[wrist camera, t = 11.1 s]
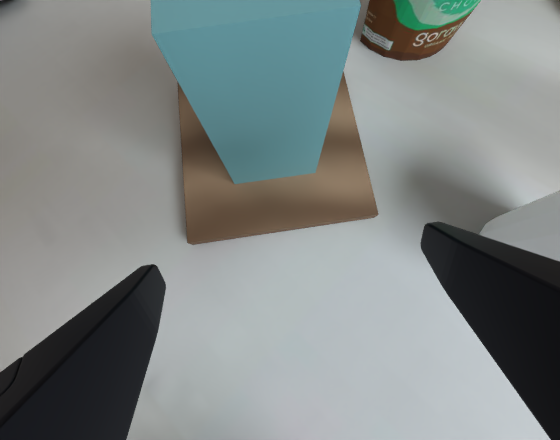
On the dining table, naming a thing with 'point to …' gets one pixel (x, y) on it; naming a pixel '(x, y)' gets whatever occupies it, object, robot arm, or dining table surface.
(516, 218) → the white short cylinder
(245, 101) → the teal square pillar
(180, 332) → the dining table surface
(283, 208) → the stub base
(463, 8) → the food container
